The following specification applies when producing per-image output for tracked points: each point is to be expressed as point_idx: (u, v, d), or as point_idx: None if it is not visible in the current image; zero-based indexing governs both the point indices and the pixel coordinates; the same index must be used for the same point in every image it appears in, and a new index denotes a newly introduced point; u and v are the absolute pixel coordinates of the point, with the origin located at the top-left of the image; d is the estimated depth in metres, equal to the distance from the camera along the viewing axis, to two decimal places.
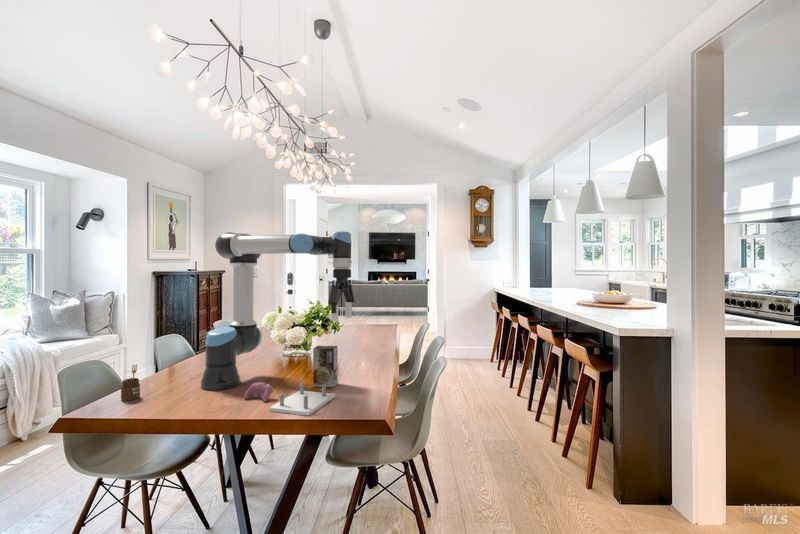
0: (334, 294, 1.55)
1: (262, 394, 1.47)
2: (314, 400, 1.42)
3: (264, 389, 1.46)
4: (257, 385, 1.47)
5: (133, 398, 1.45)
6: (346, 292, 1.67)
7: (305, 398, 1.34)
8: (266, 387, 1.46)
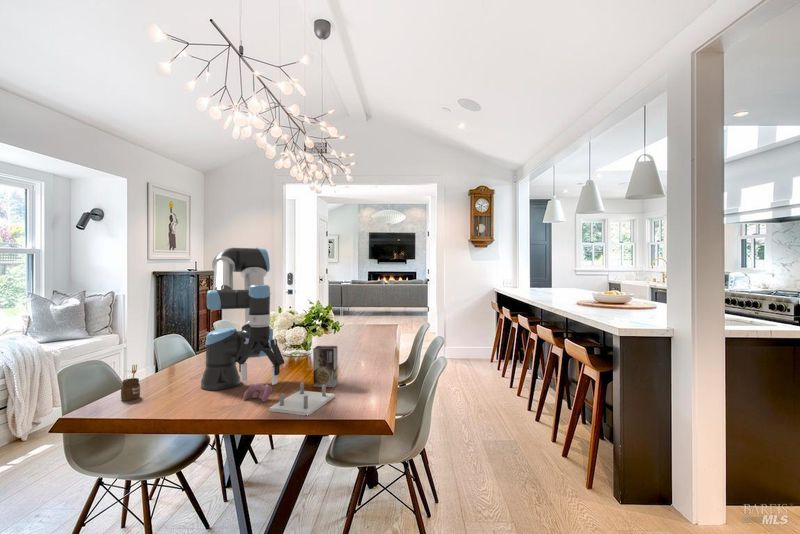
0: None
1: (261, 395, 1.46)
2: (314, 400, 1.42)
3: (263, 389, 1.46)
4: (256, 385, 1.47)
5: (133, 398, 1.45)
6: None
7: (305, 398, 1.34)
8: (265, 387, 1.46)
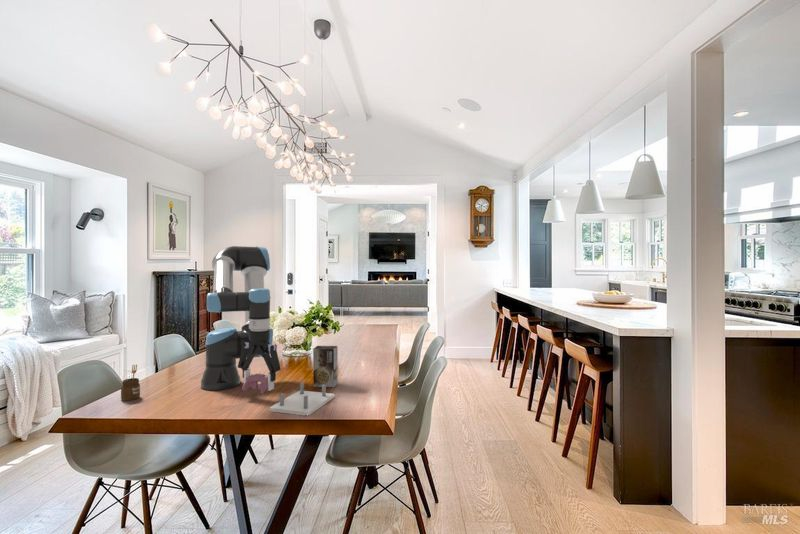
0: None
1: (260, 385, 1.47)
2: (314, 400, 1.42)
3: (262, 380, 1.46)
4: (255, 376, 1.47)
5: (133, 398, 1.45)
6: None
7: (305, 398, 1.34)
8: (264, 378, 1.46)
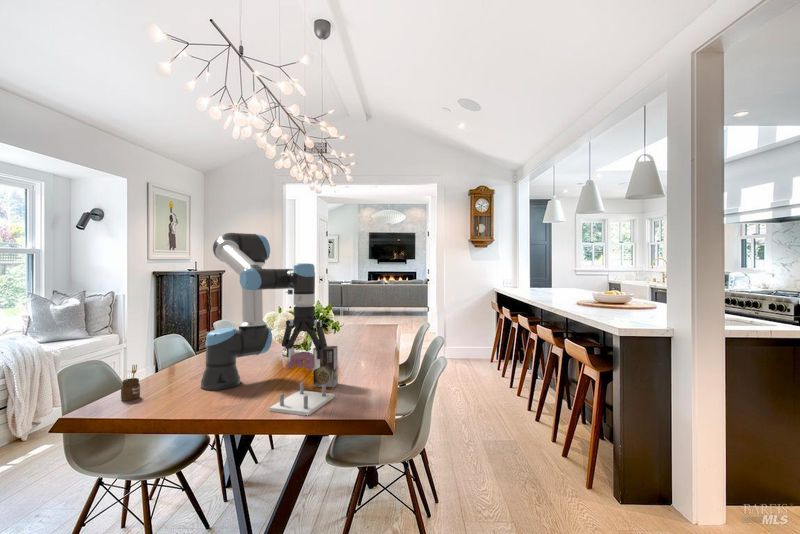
0: None
1: (306, 363, 1.40)
2: (314, 400, 1.42)
3: (308, 358, 1.40)
4: (301, 354, 1.41)
5: (133, 398, 1.45)
6: None
7: (305, 398, 1.34)
8: (310, 356, 1.40)
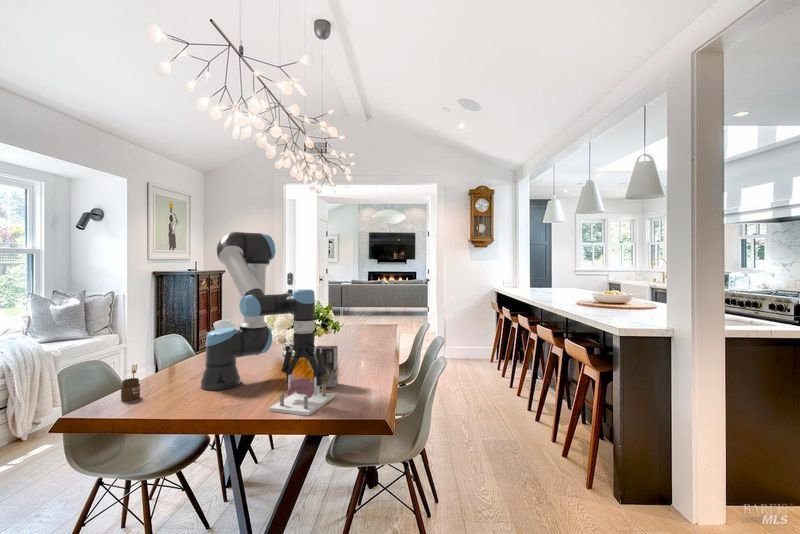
0: None
1: (306, 390, 1.41)
2: (314, 400, 1.42)
3: (308, 385, 1.40)
4: (300, 381, 1.41)
5: (133, 398, 1.45)
6: None
7: (305, 398, 1.34)
8: (310, 383, 1.40)
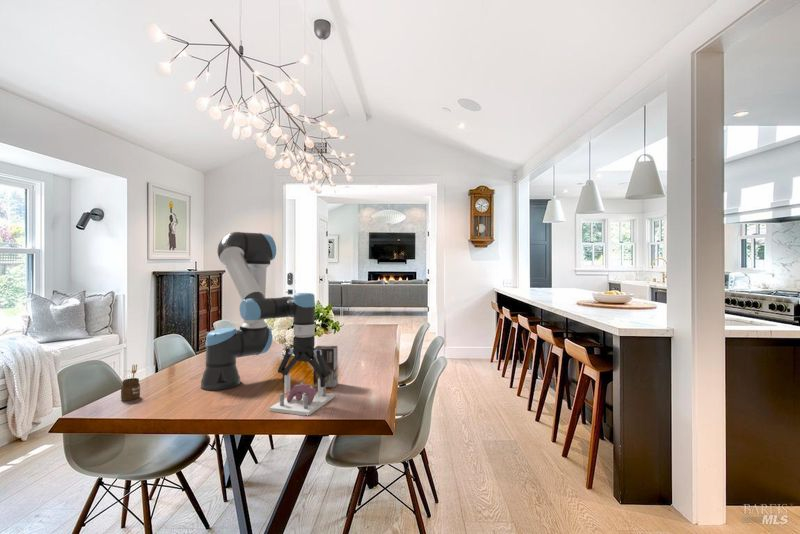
0: None
1: None
2: (314, 400, 1.42)
3: (308, 391, 1.40)
4: (300, 387, 1.41)
5: (133, 398, 1.45)
6: None
7: (305, 398, 1.34)
8: (310, 389, 1.40)
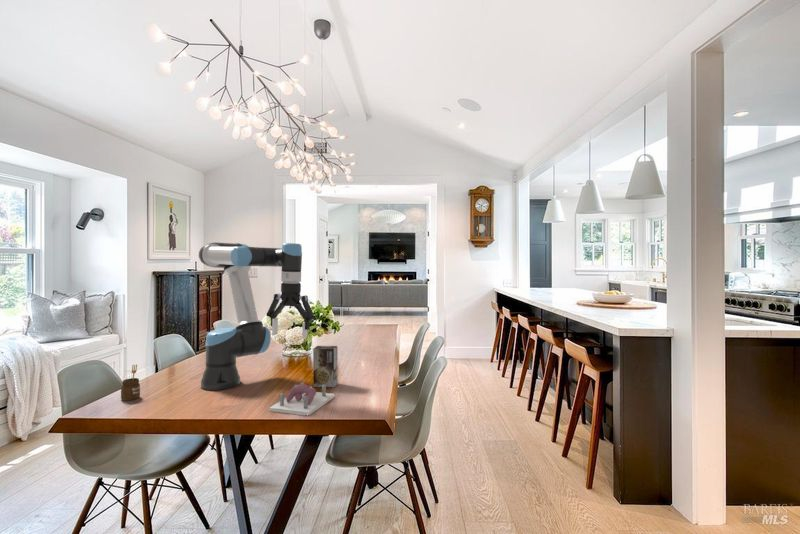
0: None
1: None
2: (314, 400, 1.42)
3: (307, 391, 1.40)
4: (300, 387, 1.41)
5: (133, 398, 1.45)
6: None
7: (305, 398, 1.34)
8: (309, 389, 1.40)
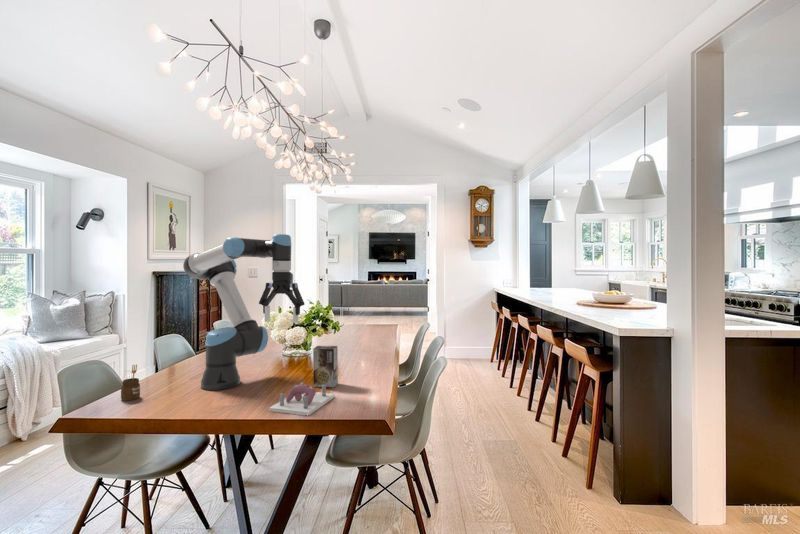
0: None
1: None
2: (314, 400, 1.42)
3: (307, 391, 1.40)
4: (299, 387, 1.41)
5: (133, 398, 1.45)
6: None
7: (305, 398, 1.34)
8: (309, 389, 1.40)
